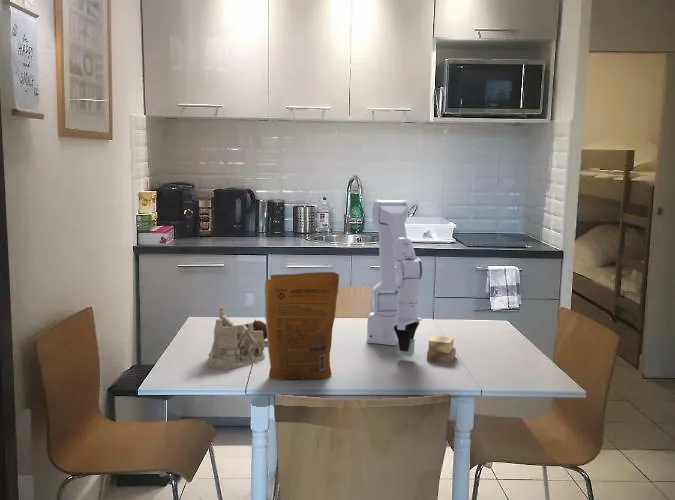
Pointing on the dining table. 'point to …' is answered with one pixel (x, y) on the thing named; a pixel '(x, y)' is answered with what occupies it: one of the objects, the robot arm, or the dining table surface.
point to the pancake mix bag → (300, 324)
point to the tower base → (441, 356)
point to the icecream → (259, 327)
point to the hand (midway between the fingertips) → (405, 348)
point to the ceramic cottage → (235, 344)
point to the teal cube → (410, 350)
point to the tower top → (440, 344)
